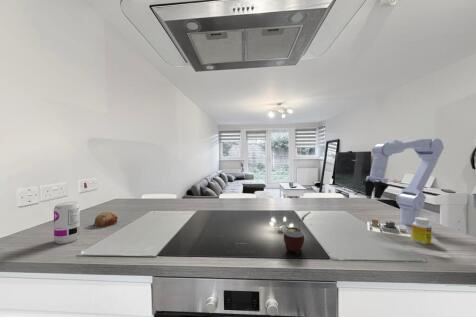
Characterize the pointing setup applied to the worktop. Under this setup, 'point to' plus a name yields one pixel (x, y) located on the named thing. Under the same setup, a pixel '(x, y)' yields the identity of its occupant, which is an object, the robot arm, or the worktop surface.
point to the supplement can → (66, 222)
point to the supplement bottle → (421, 231)
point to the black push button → (390, 224)
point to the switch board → (387, 229)
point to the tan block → (374, 222)
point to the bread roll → (105, 219)
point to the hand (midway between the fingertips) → (372, 197)
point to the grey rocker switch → (402, 228)
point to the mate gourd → (294, 238)
